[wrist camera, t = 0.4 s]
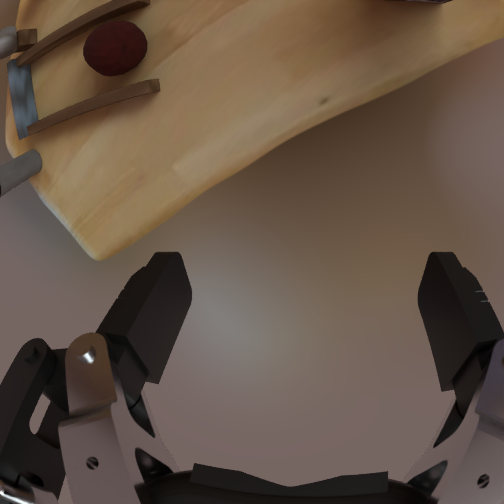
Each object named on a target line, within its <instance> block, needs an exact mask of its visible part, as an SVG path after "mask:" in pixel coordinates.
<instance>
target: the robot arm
mask: <svg viewBox="0 0 504 504" xmlns="http://www.w3.org/2000/svg"><path fill="white" fill-rule="evenodd" d="M191 301H192V289H191V285H190V282H189V279H188V276H187V272H186V269H185V266H184V263H183V259H182V256H181V254H180V253H179V252H156V253H155V254H154V255H153V257H152V258H151V259H150V261H149V262H148V264H147V265H146V267H142V268H141V269H140V270H138V271H137V272H136V273H135V274H134V275H132V276H131V278H130V279H129V281H128V282H127V284H126V285H125V287H124V290H122V291H121V293H120V294H119V296H118V299H116V300H115V302H114V304H113V305H112V307H111V309H110V310H109V311H108V313H107V315H106V316H105V318H104V319H103V321H102V323H101V324H100V326H99V328H98V329H97V331H96V332H95V333H86V334H83V335H81V336H79V337H78V338H76V339H75V340H74V341H73V342H72V343H71V344H70V346H69V347H68V348H65V349H56V350H52V349H51V348H50V347H49V346H48V345H47V343H46V342H45V341H44V340H43V339H40V338H35V339H32V340H30V341H28V342H27V343H25V344H24V345H23V347H22V348H21V349H20V351H19V352H18V354H17V355H16V357H15V359H14V361H13V363H12V364H11V366H10V368H9V370H8V372H7V373H6V375H5V377H4V379H3V381H2V383H1V385H0V504H58V499H59V495H60V492H61V488H62V485H63V481H64V478H65V475H66V476H67V481H68V484H69V489H70V493H71V496H72V500H73V503H74V504H501V503H502V501H503V499H504V332H503V330H502V327H501V325H500V323H499V321H498V318H497V316H496V314H495V312H494V310H493V309H492V306H491V304H490V302H488V298H487V297H486V295H485V293H484V292H483V289H482V287H481V286H480V284H479V282H478V280H477V278H476V277H475V276H474V275H473V274H472V273H471V272H469V270H467V269H466V268H465V267H464V268H463V267H462V266H461V264H460V262H459V260H458V259H457V257H456V255H455V254H454V253H453V252H432V253H430V255H429V257H428V260H427V264H426V267H425V270H424V274H423V277H422V280H421V283H420V287H419V291H418V307H419V310H420V313H421V316H422V319H423V322H424V325H425V329H426V332H427V336H428V339H429V342H430V346H431V350H432V353H433V357H434V361H435V365H436V369H437V373H438V378H439V382H440V387H441V391H442V392H443V391H448V390H454V391H455V395H456V396H455V397H454V398H453V400H452V401H451V404H450V406H449V408H448V410H447V412H446V414H445V416H444V418H443V420H442V422H441V424H440V426H439V428H438V430H437V432H436V434H435V436H434V437H433V439H432V441H431V443H430V445H429V446H428V448H427V450H426V451H425V452H424V454H423V455H422V456H421V457H420V458H419V459H418V460H417V462H416V463H415V464H414V465H413V466H412V468H411V469H410V470H409V472H408V473H407V474H406V476H405V477H404V479H403V480H402V482H401V481H396V480H392V479H388V471H387V472H379V473H370V474H359V475H344V476H339V477H335V478H331V479H327V480H323V481H319V482H314V483H310V484H304V485H299V486H293V487H287V486H283V485H279V484H276V483H273V482H269V481H266V480H264V479H260V478H258V477H255V476H252V475H249V474H246V473H244V472H241V471H235V470H229V469H223V468H217V467H211V466H206V465H201V464H197V463H194V466H193V470H188V471H180V470H179V468H178V466H177V464H176V462H175V460H174V458H173V457H172V455H171V453H170V452H169V450H168V449H167V448H166V446H165V445H164V443H163V441H162V439H161V437H160V434H159V432H158V429H157V426H156V424H155V421H154V418H153V416H152V413H151V410H150V407H149V405H148V402H147V398H146V396H145V393H144V391H143V386H144V384H145V382H151V383H155V384H159V382H160V379H161V376H162V374H163V371H164V369H165V366H166V364H167V361H168V359H169V356H170V354H171V351H172V349H173V346H174V344H175V341H176V339H177V336H178V334H179V331H180V329H181V327H182V324H183V322H184V319H185V317H186V315H187V312H188V310H189V307H190V305H191ZM41 394H44V395H45V396H46V397H47V398H48V399H49V400H50V401H51V402H50V404H49V406H48V409H47V411H46V413H45V416H44V418H43V420H42V423H41V425H40V428H39V430H38V432H37V433H36V434H33V433H32V432H31V430H30V427H29V421H30V418H31V416H32V414H33V412H34V409H35V407H36V405H37V402H38V400H39V398H40V396H41Z"/></svg>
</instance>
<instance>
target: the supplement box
mask: <svg viewBox="0 0 504 504" xmlns="http://www.w3.org/2000/svg"><path fill="white" fill-rule="evenodd" d="M408 1H425V2H434V3H441V4H443V3H446V2H449V1H452V0H408Z"/></svg>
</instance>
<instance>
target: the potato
mask: <svg viewBox="0 0 504 504" xmlns="http://www.w3.org/2000/svg"><path fill="white" fill-rule="evenodd" d="M146 52H147V40H146V37H145V35H144V33H143V32H142V31H141V30H140V29H139V28H138V27H137V26H136V25H135V24H133V23H131V22H127V21H113V22H109V23H106V24H103V25H101V26H99V27H98V28H96V29H95V30H94V31H93V32H92V33H91V34H90V35H89V36H88V38H87V40H86V42H85V45H84V48H83V55H84V58H85V61H86V62H87V63H88V65H89V66H90V67H92V68H93V69H94V70H95V71H97V72H98V73H100V74H102V75H104V76H117V75H122V74H125V73H126V72H128V71H129V70H131V69H133V68H134V67H136V66H137V65H138V64H139V63H140V61H141V60H142V59H143V58H144V56H145V54H146Z"/></svg>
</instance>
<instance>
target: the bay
mask: <svg viewBox="0 0 504 504" xmlns="http://www.w3.org/2000/svg"><path fill="white" fill-rule="evenodd" d="M149 4H150V0H112V1H110V2H108V3H106V4H103V5H101V6H99V7H97V8H95V9H93V10H91V11H89V12H87V13H86V14H84V15H82V16H80V17H78V18H76V19H75V20H73V21H71V22H69V23H68V24H66V25H64V26H63V27H61V28H59V29H58V30H56V31H55V32H53V33H51V34H50V35H48V36H47V37H45V38H44V39H42V40H41V41H39V42H38V43H37V29H25V30H19V31H17V28H16V27H15V26H10V27H6V28H4V29H1V30H0V59H3V58H5V57H7V56H10V55H11V54H13V53H16V52H22V51H26V52H24V53H23V54H22V55H20V56H19V57H18V58H16V59H12V60H11V61H9V62H8V63H7V68H8V79H9V87H10V94H11V101H12V107H13V113H14V118H15V123H16V128H17V132H18V137H19V140H21V139H23V138H25V137H27V136H29V135H32V134H34V133H36V132H38V131H41V130H43V129H45V128H47V127H50V126H52V125H54V124H57V123H59V122H62V121H64V120H67V119H69V118H72V117H74V116H77V115H80V114H82V113H85V112H88V111H91V110H94V109H96V108H99V107H103V106H106V105H109V104H112V103H115V102H119V101H122V100H125V99H129V98H132V97H136V96H140V95H144V94H148V93H152V92H156V91H160V84H159V79H152V80H146V81H142V82H138V83H135V84H131V85H128V86H125V87H122V88H118V89H115V90H112V91H109V92H106V93H104V94H101V95H98V96H95V97H92V98H90V99H87V100H85V101H82V102H79V103H77V104H74V105H72V106H70V107H67V108H65V109H63V110H60V111H58V112H56V113H54V114H51V115H49V116H47V117H45V118H43V119H41V120H38V115H37V110H36V105H35V99H34V93H33V86H32V78H31V70H30V64H31V63H33V62H34V61H36V60H37V59H39V58H40V57H42V56H43V55H45V54H46V53H48V52H49V51H51V50H53V49H54V48H56V47H58V46H59V45H61V44H63V43H64V42H66V41H68V40H70V39H72V38H73V37H75V36H77V35H79V34H81V33H83V32H85V31H87V30H89V29H91V28H93V27H95V26H97V25H99V24H101V23H103V22H106V21H108V20H110V19H112V18H115V17H117V16H120V15H122V14H124V13H127V12H130V11H132V10H135V9H137V8H140V7H143V6H146V5H149Z"/></svg>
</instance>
